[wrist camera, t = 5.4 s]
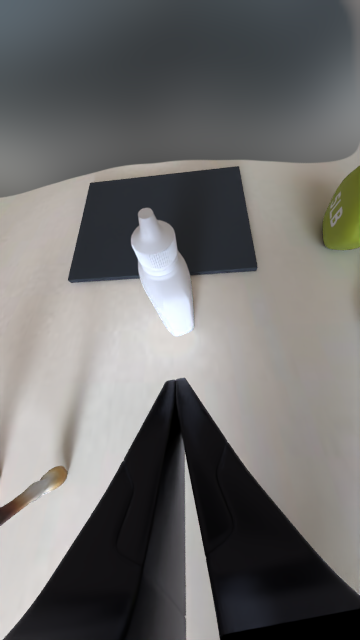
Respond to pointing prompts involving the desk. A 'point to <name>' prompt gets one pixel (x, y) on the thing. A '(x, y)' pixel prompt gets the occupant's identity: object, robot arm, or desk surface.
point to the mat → (173, 208)
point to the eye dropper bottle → (163, 272)
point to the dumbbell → (344, 215)
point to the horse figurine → (34, 492)
